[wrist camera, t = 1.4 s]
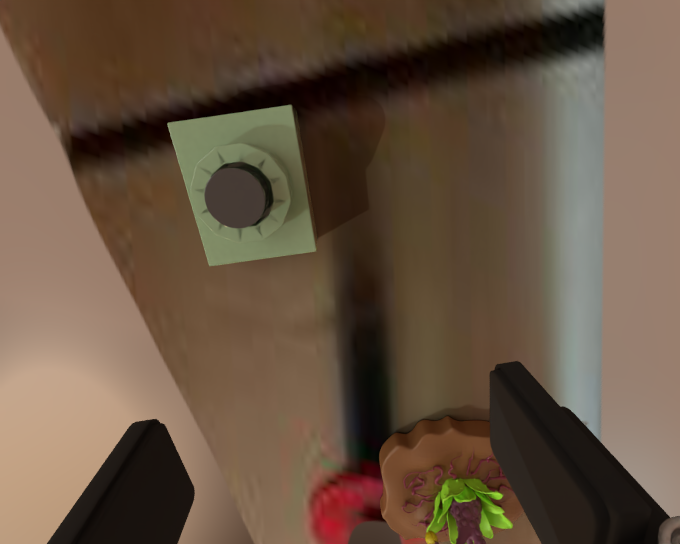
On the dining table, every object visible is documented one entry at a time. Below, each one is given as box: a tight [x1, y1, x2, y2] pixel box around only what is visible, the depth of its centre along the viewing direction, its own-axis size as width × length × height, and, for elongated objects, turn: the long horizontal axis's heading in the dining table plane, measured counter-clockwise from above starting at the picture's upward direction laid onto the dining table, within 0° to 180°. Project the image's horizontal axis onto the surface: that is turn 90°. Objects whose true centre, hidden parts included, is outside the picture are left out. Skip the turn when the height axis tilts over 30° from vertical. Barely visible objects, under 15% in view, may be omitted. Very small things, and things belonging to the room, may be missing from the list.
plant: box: [379, 416, 524, 544], centre depth 38 cm, size 20×20×11 cm
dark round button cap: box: [204, 166, 270, 229], centre depth 23 cm, size 4×4×2 cm
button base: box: [167, 105, 318, 266], centre depth 26 cm, size 11×9×6 cm
